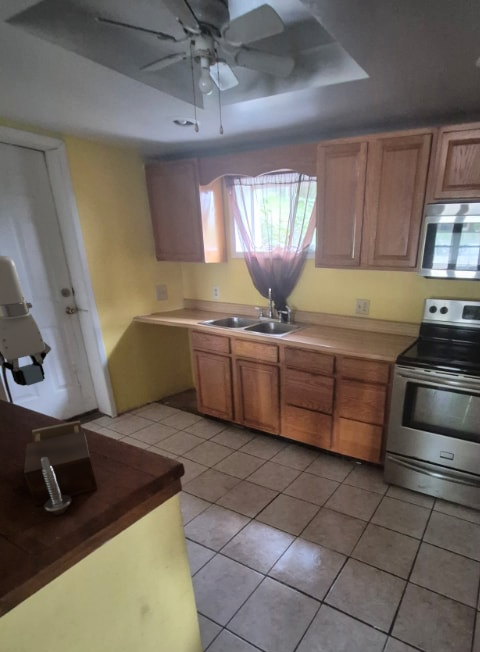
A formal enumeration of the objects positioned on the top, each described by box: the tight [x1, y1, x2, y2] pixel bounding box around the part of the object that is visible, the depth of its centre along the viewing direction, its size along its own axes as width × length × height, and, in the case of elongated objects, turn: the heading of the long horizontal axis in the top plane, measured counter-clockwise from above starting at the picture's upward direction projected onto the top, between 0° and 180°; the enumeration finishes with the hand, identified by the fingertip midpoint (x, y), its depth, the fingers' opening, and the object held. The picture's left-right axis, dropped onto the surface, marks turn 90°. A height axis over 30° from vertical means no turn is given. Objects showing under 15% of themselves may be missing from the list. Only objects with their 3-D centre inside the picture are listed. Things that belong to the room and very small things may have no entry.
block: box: [19, 363, 45, 387], centre depth 96 cm, size 4×4×4 cm
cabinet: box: [23, 430, 99, 508], centre depth 84 cm, size 14×12×9 cm
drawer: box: [31, 420, 83, 442], centre depth 93 cm, size 17×10×7 cm, turn 32°
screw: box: [41, 457, 73, 516], centre depth 74 cm, size 13×5×5 cm
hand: (30, 380), depth 96 cm, fingers closed on block, 4 cm apart
